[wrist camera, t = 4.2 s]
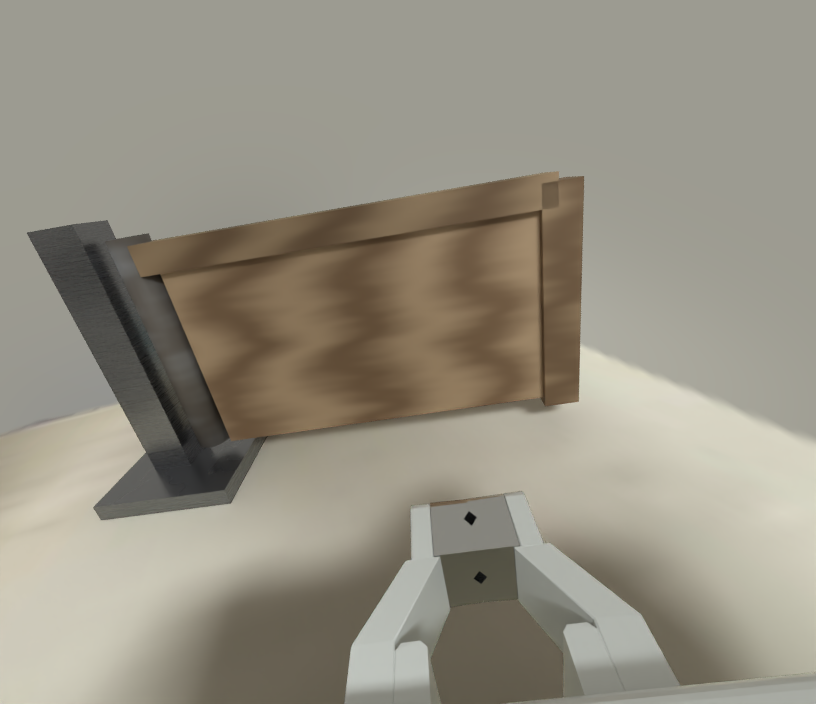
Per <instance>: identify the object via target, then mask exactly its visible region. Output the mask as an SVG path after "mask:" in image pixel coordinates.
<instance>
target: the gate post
mask: <svg viewBox="0 0 816 704" xmlns="http://www.w3.org/2000/svg"><path fill="white" fill-rule="evenodd" d="M27 234H28V236H29V238H30V240H31V242H32V244H33V245H34V247H35V249H36V251H37V253H38V254H39V256H40V258H41V260H42V262H43V263H44V265H45V267H46V269H47V271H48V273H49V275H50V277H51V278H52V280H53V282H54V284H55V286H56V288H57V289H58V291H59V293H60V295H61V297H62V299H63V300H64V302H65V304H66V306H67V308H68V310H69V312H70V313H71V315H72V317H73V319H74V321H75V322H76V324H77V326H78V328H79V330H80V332H81V334H82V335H83V337H84V339H85V341H86V343H87V345H88V346H89V348H90V350H91V352H92V354H93V356H94V358H95V359H96V361H97V363H98V365H99V367H100V369H101V370H102V372H103V374H104V376H105V378H106V379H107V381H108V383H109V385H110V387H111V388H112V391H113V392H114V394H115V396H116V398H117V400H118V402H119V403H120V405H121V407H122V409H123V411H124V413H125V415H126V416H127V418H128V420H129V422H130V424H131V426H132V427H133V429H134V431H135V433H136V435H137V437H138V438H139V440H140V442H141V444H142V446H143V448H144V449H145V451H146V453H145V454H144V455H143V456H142V457H141V458H140V459H139V460H138V462H137V463H136V464H135V465H134V466H133V467H132V468H131V469H130V470H129V471H128V472H127V473H126V474H125V475H124V476H123V477H122V478H121V479H120V480H119V481H118V482H117V483H116V484H115V485H114V486H113V488H112V489H111V490H110V491H109V492H108V493H107V494H106V495H105V496H104V497H103V498H102V499H101V500H100V501H99V502H98V503H97V504H96V505H95V506H94V507H93V508H94V510H95V511H96V513H97V514H98V516H99V517H100V519H101V520H106V519H114V518H121V517H129V516H137V515H144V514H152V513H159V512H167V511H175V510H182V509H190V508H197V507H205V506H213V505H220V504H228V503H231V501H232V499H233V497H234V496H235V494H236V492H237V490H238V488H239V486H240V485H241V483H242V481H243V479H244V477H245V475H246V474H247V472H248V470H249V468H250V466H251V464H252V463H253V461H254V459H255V457H256V455H257V453H258V452H259V450H260V448H261V446H262V444H263V442H264V441H265V439H266V437H267V436H264V437H257V438H250V439H243V440H236V441H231V439H230V438H229V439H227V440H226V441H225V442H223V443H222V444H220V445H217V446H214V447H211V448H203V447H201V446H200V444H199V442H198V440H197V438H196V436H195V434H194V431H193V429H192V427H191V425H190V423H189V421H188V419H187V416H186V414H185V412H184V410H183V408H182V406H181V404H180V401H179V399H178V397H177V395H176V393H175V391H174V389H173V387H172V384H171V382H170V380H169V378H168V376H167V374H166V372H165V369H164V367H163V365H162V363H161V361H160V359H159V357H158V355H157V352H156V350H155V348H154V346H153V344H152V342H151V340H150V337H149V335H148V333H147V331H146V329H145V327H144V325H143V322H142V320H141V318H140V316H139V314H138V312H137V310H136V308H135V305H134V303H133V301H132V299H131V297H130V295H129V293H128V290H127V288H126V286H125V284H124V282H123V280H122V278H121V276H120V273H119V271H118V269H117V267H116V265H115V263H114V261H113V258H112V256H111V254H110V252H109V250H108V248H107V246H106V244H105V241H109V240H114V239H116V238H115V236H114V234H113V231H112V229H111V227H110V225H109V223H108V221H107V220H106V221H98V222H90V223H81V224H73V225H67V226H62V227H56V228H51V229H45V230H40V231H34V232H28V233H27Z"/></svg>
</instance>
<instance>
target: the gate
mask: <svg viewBox="0 0 816 704" xmlns="http://www.w3.org/2000/svg"><path fill="white" fill-rule="evenodd" d="M583 200H584V176H578V177H564V178H559V172H546V173H540V174H534V175H528V176H522V177H516V178H510V179H505V180H499V181H493V182H488V183H482V184H476V185H470V186H464V187H459V188H453V189H447V190H442V191H436V192H430V193H425V194H418V195H413V196H407V197H402V198H396V199H390V200H384V201H378V202H372V203H366V204H361V205H355V206H350V207H343V208H338V209H332V210H326V211H320V212H315V213H309V214H303V215H297V216H292V217H286V218H280V219H275V220H269V221H263V222H257V223H251V224H246V225H240V226H234V227H228V228H222V229H217V230H211V231H205V232H199V233H194V234H188V235H182V236H176V237H171V238H165V239H159V240H153V241H152V240H151V238H150V236H149V234H142V235H137V236H131V237H125V238H121V239H114V240H109V241H105V244H106V246H107V248H108V250H109V252H110V254H111V256H112V258H113V261H114V263H115V265H116V267H117V269H118V271H119V273H120V276H121V278H122V280H123V282H124V284H125V286H126V288H127V290H128V293H129V295H130V297H131V299H132V301H133V303H134V305H135V308H136V310H137V312H138V314H139V316H140V318H141V320H142V322H143V325H144V327H145V329H146V331H147V333H148V335H149V337H150V340H151V342H152V344H153V346H154V348H155V350H156V352H157V355H158V357H159V359H160V361H161V363H162V365H163V367H164V369H165V372H166V374H167V376H168V378H169V380H170V382H171V384H172V387H173V389H174V391H175V393H176V395H177V397H178V399H179V401H180V404H181V406H182V408H183V410H184V412H185V414H186V416H187V419H188V421H189V423H190V425H191V427H192V429H193V431H194V434H195V436H196V438H197V440H198V442H199V444H200V446H201V447H203V448H211V447H214V446H217V445H220V444H222V443H223V442H225V441H226V440H227V439H229V438H230V439H231V441H236V440H243V439H250V438H257V437H264V436H271V435H278V434H286V433H293V432H300V431H307V430H314V429H321V428H328V427H335V426H342V425H349V424H357V423H364V422H371V421H378V420H385V419H392V418H399V417H406V416H413V415H421V414H428V413H435V412H442V411H449V410H456V409H463V408H470V407H477V406H485V405H492V404H499V403H506V402H513V401H520V400H527V399H534V398H541V400H542V402H543V403H544V405H545V406H550V405H558V404H565V403H572V402H579V365H580V324H581V323H580V321H581V283H582V282H581V280H582V242H583V241H582V240H583V237H582V236H583Z"/></svg>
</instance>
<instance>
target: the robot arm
mask: <svg viewBox="0 0 816 704" xmlns="http://www.w3.org/2000/svg"><path fill="white" fill-rule="evenodd" d="M410 522H411V560H407V561H405V562H404V564H403V565H402V567H401V569H400V570H399V572H398V573H397V575H396V576H395V578H394V580H393V581H392V583H391V584H390V586H389V587H388V589H387V591H386V592H385V594H384V595H383V597H382V598H381V600H380V602H379V603H378V605H377V606H376V608H375V609H374V611H373V613H372V614H371V616H370V617H369V619H368V620H367V622H366V624H365V625H364V627H363V628H362V630H361V631H360V633H359V635H358V636H357V638H356V639H355V641H354V643H353V644H352V646H351V652H350V660H349V669H348V677H347V685H346V693H345V702H344V704H441V701H440V697H439V693H438V689H437V684H436V680H435V676H434V672H433V668H432V664H431V657H432V654H433V652H434V649H435V647H436V644H437V642H438V639H439V637H440V634H441V632H442V629H443V627H444V624H445V622H446V619H447V617H448V614H449V611H450V607H455V606H462V605H469V604H476V603H482V602H483V601H484V602H494V601H505V600H517V599H518V600H519V602H520V604H521V605H522V606H523V607H524V608H525V609H526V610H527V612H528V613H529V614H530V615H531V616H532V617H533V619H534V620H535V621H536V622H537V623H538V624H539V626H540V627H541V628H542V629H543V630H544V631H545V633H546V634H547V635H548V636H549V637H550V638H551V639H552V641H553V642H554V643H555V644H556V645H557V646H558V648H559V649H560V650H561V651H562V652H563V697H562V698H552V699H542V700H532V701H522V702H512V703H502V704H816V672H814V673H804V674H794V675H784V676H774V677H764V678H754V679H744V680H734V681H724V682H714V683H704V684H694V685H684V686H680V684H679V682H678V680H677V678H676V677H675V675H674V673H673V671H672V669H671V668H670V666H669V664H668V662H667V660H666V658H665V657H664V655H663V653H662V651H661V649H660V648H659V646H658V644H657V642H656V640H655V638H654V637H653V635H652V633H651V631H650V629H649V628H648V626H647V624H646V622H645V620H644V618H643V617H642V615H641V614H640V613H639V612H637V611H636V610H635V609H634V608H632V607H631V606H630V605H628V604H627V603H626V602H625V601H623V600H622V599H621V598H620V597H618V596H617V595H616V594H614V593H613V592H612V591H611V590H609V589H608V588H607V587H606V586H604V585H603V584H602V583H600V582H599V581H598V580H597V579H595V578H594V577H593V576H592V575H590V574H589V573H588V572H586V571H585V570H584V569H583V568H581V567H580V566H579V565H578V564H576V563H575V562H574V561H572V560H571V559H570V558H569V557H567V556H566V555H565V554H564V553H562V552H561V551H560V550H558V549H557V548H556V547H555V546H553V545H552V544H551V543H544V542H543V540H542V537H541V535H540V532H539V530H538V527H537V524H536V522H535V519H534V517H533V514H532V512H531V509H530V507H529V504H528V501H527V499H526V496H525V494H524V493H523V492H522V491H518V492H511V493H504V494H497V495H490V496H483V497H476V498H469V499H464V500H455V501H445V502H436V503H430V504H421V505H411V510H410Z"/></svg>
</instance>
